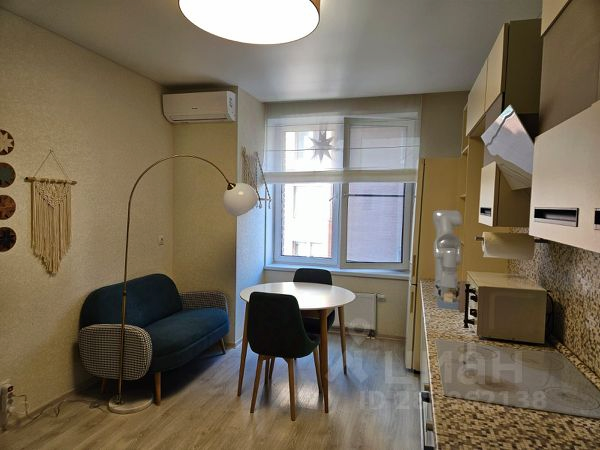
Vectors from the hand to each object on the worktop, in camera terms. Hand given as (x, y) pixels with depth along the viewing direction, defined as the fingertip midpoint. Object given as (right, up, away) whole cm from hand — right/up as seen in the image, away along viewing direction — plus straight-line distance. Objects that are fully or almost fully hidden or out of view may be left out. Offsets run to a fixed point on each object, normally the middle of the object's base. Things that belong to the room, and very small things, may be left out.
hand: (448, 296), depth 230 cm
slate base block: (0, -7, 0) cm, 7 cm away
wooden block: (+7, -7, -11) cm, 15 cm away
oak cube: (0, -3, 0) cm, 3 cm away
